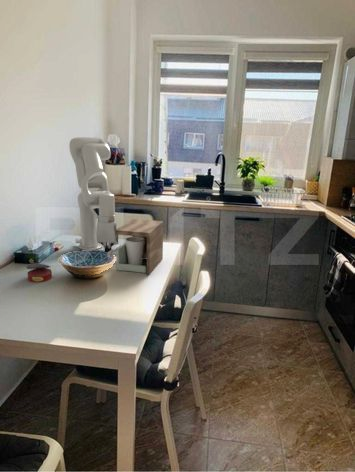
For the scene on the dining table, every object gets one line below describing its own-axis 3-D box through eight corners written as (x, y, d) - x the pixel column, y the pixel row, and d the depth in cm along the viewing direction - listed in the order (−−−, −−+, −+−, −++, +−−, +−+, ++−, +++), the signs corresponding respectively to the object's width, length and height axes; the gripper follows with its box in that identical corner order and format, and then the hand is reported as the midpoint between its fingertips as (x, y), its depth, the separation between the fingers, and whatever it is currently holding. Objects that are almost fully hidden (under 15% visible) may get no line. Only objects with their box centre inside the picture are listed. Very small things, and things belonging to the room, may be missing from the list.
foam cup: (135, 269, 170) (135, 243, 167) (121, 264, 175) (121, 239, 172) (148, 264, 177) (148, 238, 174) (135, 260, 183) (135, 235, 179)
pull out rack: (104, 268, 169) (104, 248, 167) (120, 255, 188) (119, 237, 185) (145, 272, 165) (145, 252, 163) (157, 259, 184) (157, 240, 182)
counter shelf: (116, 271, 166) (115, 230, 161) (133, 256, 189) (132, 219, 184) (149, 275, 163) (149, 232, 158) (162, 258, 186) (163, 221, 180)
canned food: (28, 290, 155) (17, 269, 154) (46, 280, 164) (35, 261, 163) (43, 284, 149) (31, 262, 148) (60, 274, 157) (50, 254, 156)
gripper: (89, 219, 171) (90, 255, 176) (118, 221, 168) (119, 258, 173) (96, 216, 178) (97, 251, 183) (124, 218, 175) (125, 254, 180)
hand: (108, 254), depth 178 cm, fingers closed
